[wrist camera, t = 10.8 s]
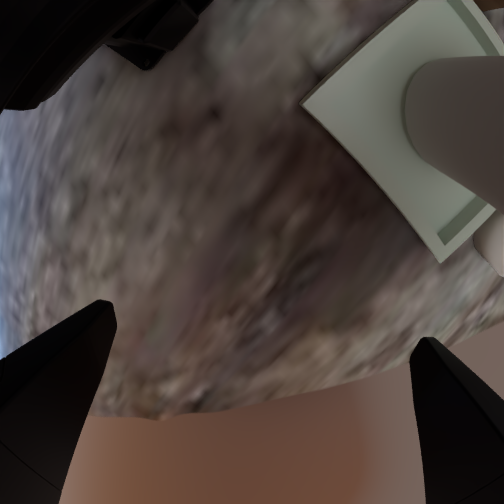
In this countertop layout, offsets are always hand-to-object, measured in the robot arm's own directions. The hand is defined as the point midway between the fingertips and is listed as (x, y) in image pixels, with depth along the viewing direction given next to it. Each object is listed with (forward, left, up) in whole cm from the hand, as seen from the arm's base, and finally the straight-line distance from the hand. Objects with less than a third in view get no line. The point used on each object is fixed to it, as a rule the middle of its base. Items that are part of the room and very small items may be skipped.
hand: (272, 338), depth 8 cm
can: (+4, +12, -12) cm, 18 cm away
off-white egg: (+15, +11, -13) cm, 23 cm away
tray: (+4, +12, -13) cm, 18 cm away
